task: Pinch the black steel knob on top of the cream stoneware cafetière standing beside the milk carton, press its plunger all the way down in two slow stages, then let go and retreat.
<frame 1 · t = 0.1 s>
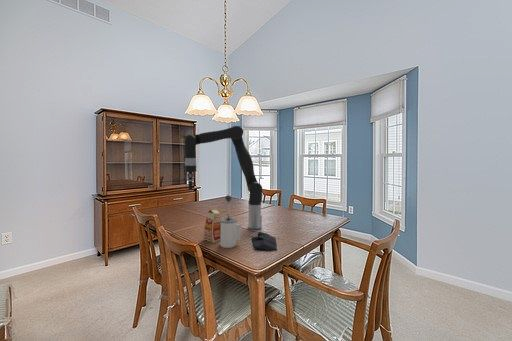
hand: (190, 188, 162), 29 cm above the table, fingers open, 8 cm apart
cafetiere: (228, 245, 139), on the table
plunger: (228, 209, 138), point 21 cm above the table, slide at 0.0 cm
dark piece: (264, 244, 142), on the table
milk carton: (213, 239, 149), on the table
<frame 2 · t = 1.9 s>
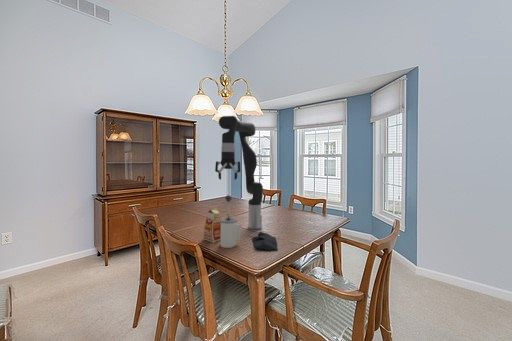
hand: (227, 179, 138), 38 cm above the table, fingers open, 8 cm apart
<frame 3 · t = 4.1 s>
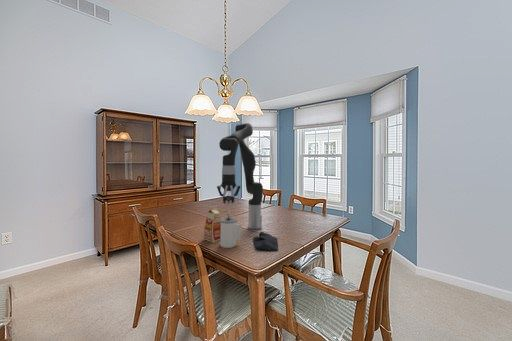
hand: (228, 203, 138), 25 cm above the table, fingers closed on plunger, 3 cm apart
plunger: (228, 209, 138), point 21 cm above the table, slide at 0.0 cm, touching gripper
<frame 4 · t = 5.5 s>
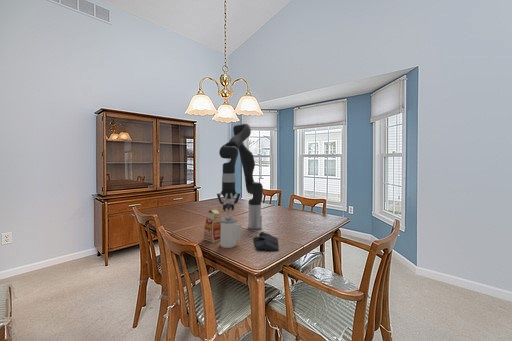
hand: (228, 210, 138), 20 cm above the table, fingers closed on plunger, 3 cm apart
plunger: (228, 216, 138), point 17 cm above the table, slide at 4.5 cm, touching gripper
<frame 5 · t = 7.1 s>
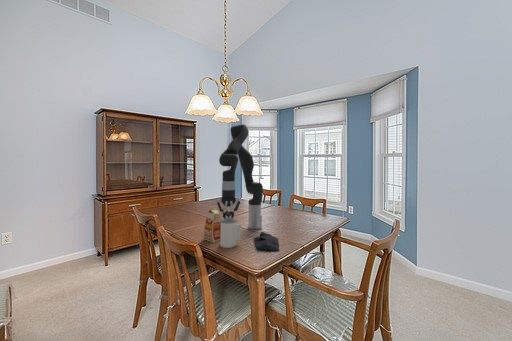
hand: (228, 218, 139), 16 cm above the table, fingers closed on plunger, 3 cm apart
plunger: (228, 224, 139), point 12 cm above the table, slide at 8.9 cm, touching gripper
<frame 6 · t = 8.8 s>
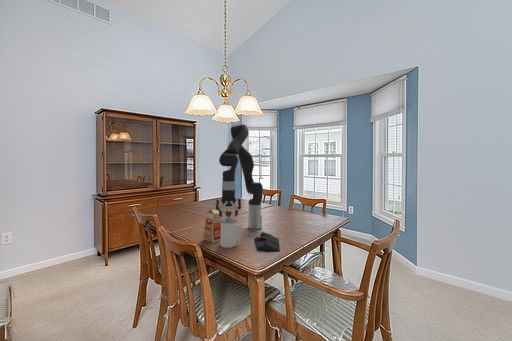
hand: (228, 216, 138), 17 cm above the table, fingers open, 8 cm apart
plunger: (228, 224, 139), point 12 cm above the table, slide at 8.9 cm
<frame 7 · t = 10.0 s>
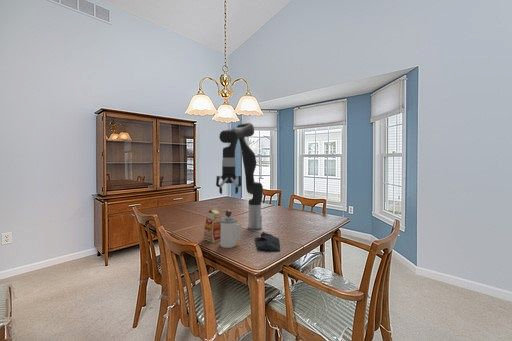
hand: (228, 193, 138), 30 cm above the table, fingers open, 8 cm apart
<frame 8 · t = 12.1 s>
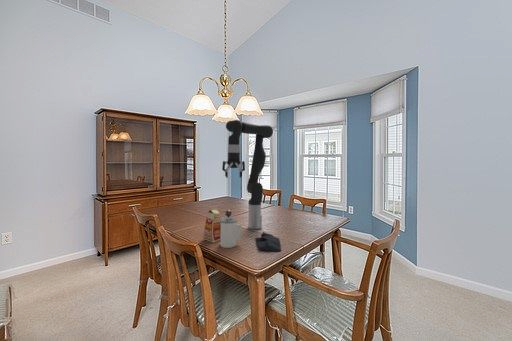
hand: (233, 177, 153), 38 cm above the table, fingers open, 8 cm apart
at the end: plunger slide at 8.9 cm; the gripper is holding nothing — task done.
